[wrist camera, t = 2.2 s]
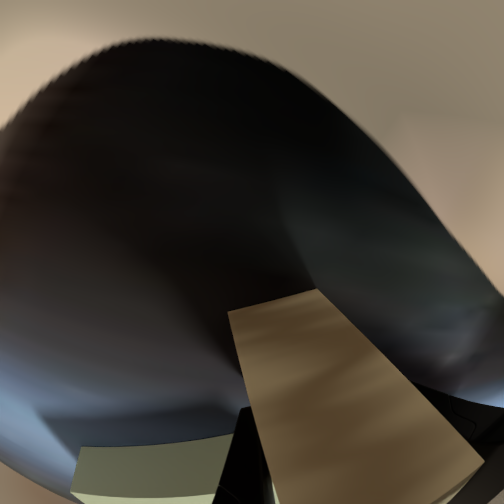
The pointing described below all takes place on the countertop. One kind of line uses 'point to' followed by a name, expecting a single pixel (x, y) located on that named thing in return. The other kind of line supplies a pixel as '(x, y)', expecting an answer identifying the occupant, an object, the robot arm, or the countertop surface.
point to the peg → (341, 411)
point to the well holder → (152, 473)
